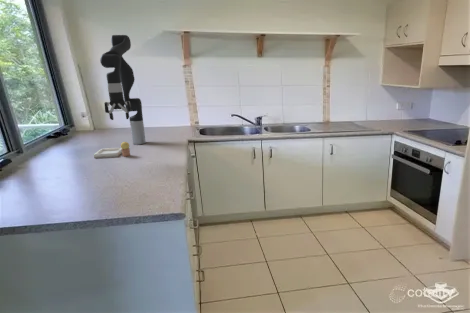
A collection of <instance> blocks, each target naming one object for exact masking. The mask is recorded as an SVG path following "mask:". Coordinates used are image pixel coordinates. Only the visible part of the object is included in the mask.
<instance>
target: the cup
mask: <svg viewBox="0 0 470 313" xmlns="http://www.w3.org/2000/svg"><path fill="white" fill-rule="evenodd" d="M121 151H122V153H121V155H122V157H123V158H127V157H130V156H131V148H130V147H129V148H128V149H121Z"/></svg>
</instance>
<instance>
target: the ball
mask: <svg viewBox="0 0 470 313" xmlns="http://www.w3.org/2000/svg"><path fill="white" fill-rule="evenodd" d="M120 148H122V149H128V148H130V144H129V142H127V141H123V142H121V144H120Z"/></svg>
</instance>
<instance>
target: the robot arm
mask: <svg viewBox="0 0 470 313" xmlns="http://www.w3.org/2000/svg"><path fill="white" fill-rule="evenodd" d="M110 42H111V48H110V49H109V50H108V51H106V52H104V53H103V54H102V55H101V56H100V58H99V61H100V65H101V66H102V67H104V68H106V69H113V68H114V69H113V71H110V72H107V73H106V80H107V81H106V82H107V92H108V95H109V96H108V97H109V101H105V102H104V111H105V114H106V113H107V114H109V115H108V116H109V119H110V120H111V121H114V114H113V112H114V110H122V111H124V112H125V119H126V120H129V123H130V124H129V125H130V131H131V141H132V144H133V145H135V146H136V145H144V144H146V143H147V141H146V133H145V124H144V117H143V106H142V100H141V98H140V97H139V98H138V97H134V98H133V97H130V92H131V90H132V87H133V86H134V83H135V73H134V70H133V68H132V67H131V65H130V64H129V63H128V62H127V61H126V60H125V58H124V57H123V55H124V54H125V53H127V52H128V51H129V50H130V49H131V47H132V42H131V39H130V36H128V35H127V34H113V35H111V36H110ZM109 106H111V107H110V108H109ZM130 112H136V113H135V114H134V115H131V116H130V114H129V113H130Z"/></svg>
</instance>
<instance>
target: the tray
mask: <svg viewBox="0 0 470 313" xmlns="http://www.w3.org/2000/svg"><path fill="white" fill-rule="evenodd" d="M121 149H122V148H121V147H109V148H100V149H99V150H98V151H96V152H95V153H94V154H93V158H94V159H103V158H118V157H119V156H120V155H122V151H121Z"/></svg>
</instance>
